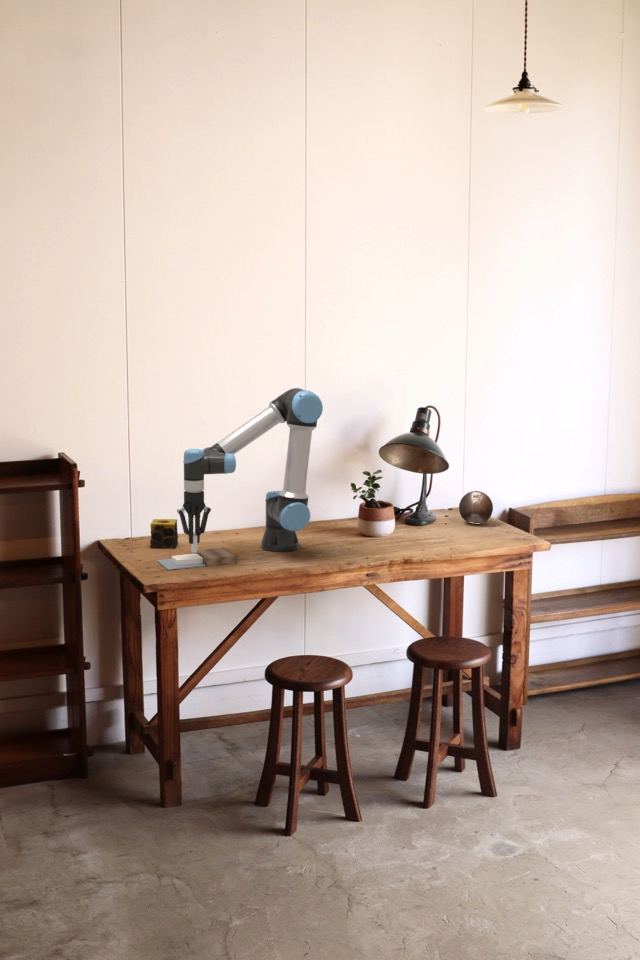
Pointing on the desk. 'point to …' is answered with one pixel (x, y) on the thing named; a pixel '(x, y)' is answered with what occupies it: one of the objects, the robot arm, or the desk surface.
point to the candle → (164, 533)
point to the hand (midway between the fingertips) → (194, 551)
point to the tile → (187, 559)
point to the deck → (217, 556)
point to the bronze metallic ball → (475, 507)
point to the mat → (170, 565)
